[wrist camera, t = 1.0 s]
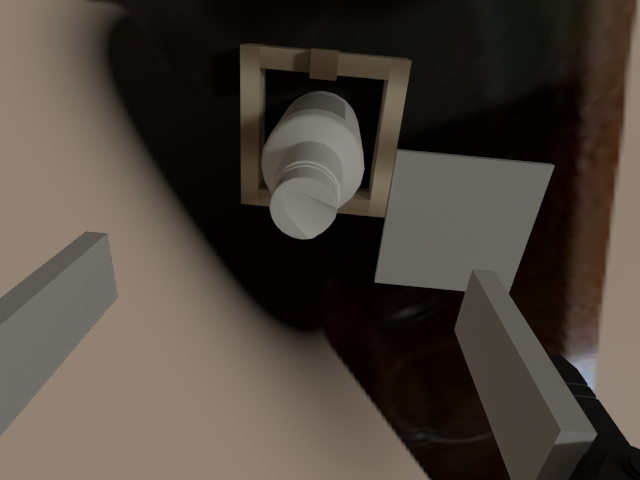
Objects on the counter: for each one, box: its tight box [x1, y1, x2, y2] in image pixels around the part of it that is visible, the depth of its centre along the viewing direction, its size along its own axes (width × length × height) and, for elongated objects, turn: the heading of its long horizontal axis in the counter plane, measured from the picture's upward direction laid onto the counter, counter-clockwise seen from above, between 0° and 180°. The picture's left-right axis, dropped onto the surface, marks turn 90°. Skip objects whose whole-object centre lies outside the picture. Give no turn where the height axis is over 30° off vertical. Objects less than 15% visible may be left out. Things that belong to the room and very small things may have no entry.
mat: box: [374, 149, 554, 294], centre depth 40 cm, size 14×14×1 cm
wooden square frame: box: [240, 43, 411, 218], centre depth 34 cm, size 14×13×4 cm
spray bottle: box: [261, 91, 364, 239], centre depth 29 cm, size 7×7×18 cm
